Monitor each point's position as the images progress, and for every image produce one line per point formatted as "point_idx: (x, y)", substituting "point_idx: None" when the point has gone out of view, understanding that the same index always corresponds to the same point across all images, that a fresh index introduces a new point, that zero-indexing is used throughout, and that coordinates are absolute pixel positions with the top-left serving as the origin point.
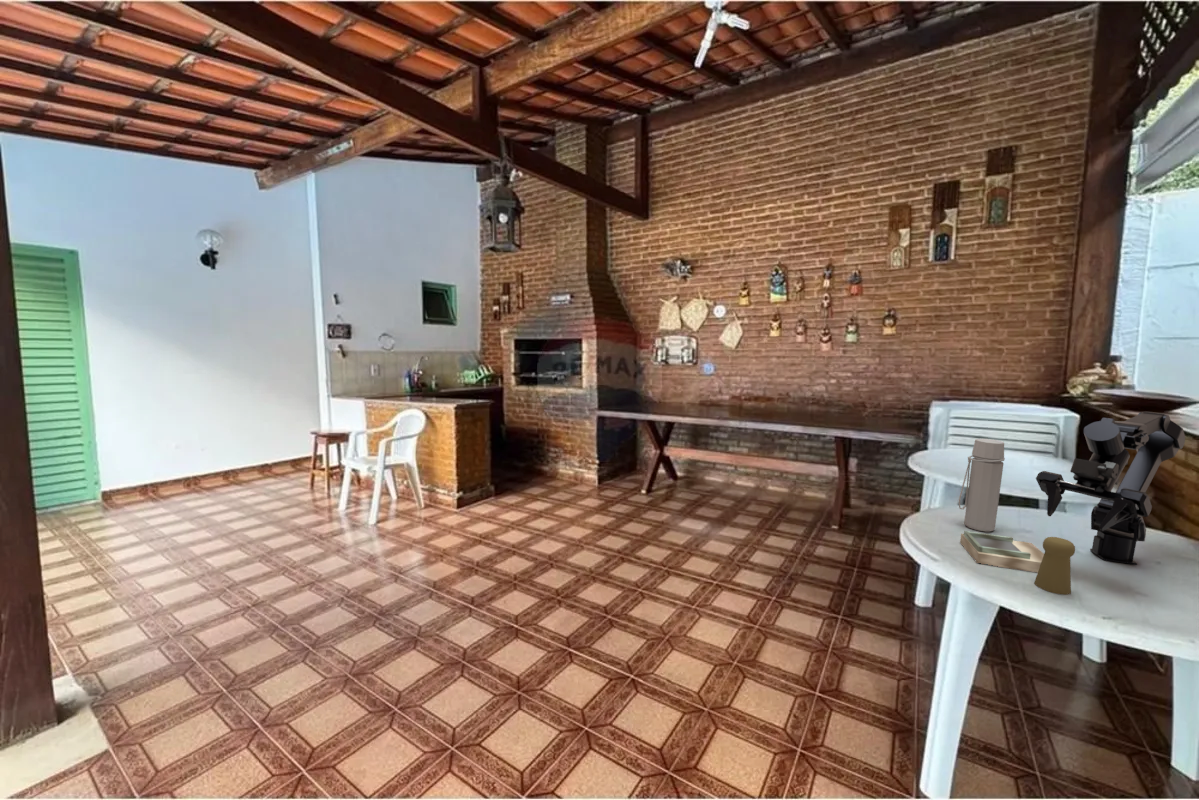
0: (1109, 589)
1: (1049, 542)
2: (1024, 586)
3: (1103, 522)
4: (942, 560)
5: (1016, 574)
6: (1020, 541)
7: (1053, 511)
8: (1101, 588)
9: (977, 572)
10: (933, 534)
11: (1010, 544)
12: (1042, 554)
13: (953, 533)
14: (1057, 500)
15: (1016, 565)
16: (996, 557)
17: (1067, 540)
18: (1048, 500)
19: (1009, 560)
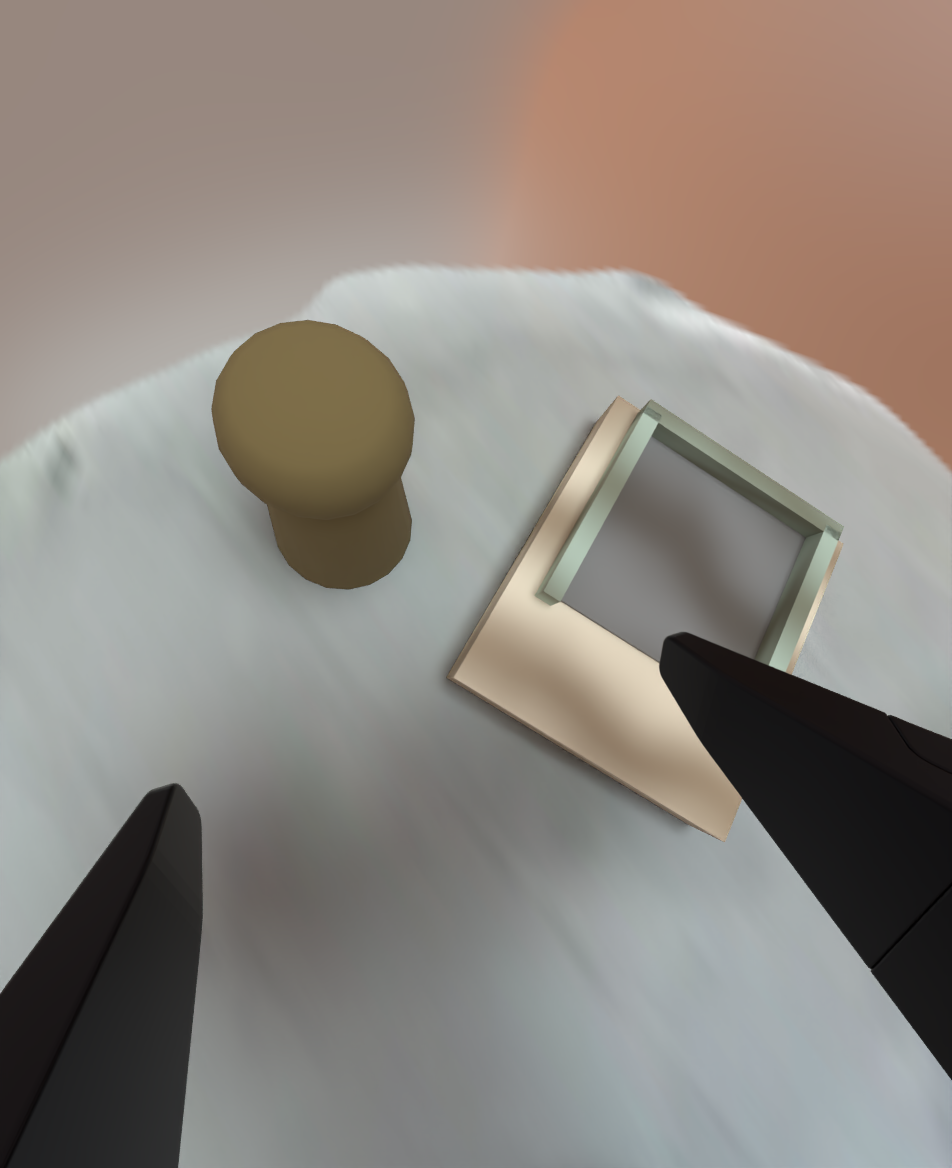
0: (266, 810)
1: (327, 323)
2: None
3: (132, 864)
4: (636, 307)
5: (481, 491)
6: None
7: (708, 732)
8: (284, 775)
9: (521, 341)
10: (886, 516)
11: None
12: (577, 736)
13: (902, 628)
14: (890, 905)
15: (531, 535)
16: (581, 457)
17: (284, 441)
18: (870, 711)
19: (553, 504)
